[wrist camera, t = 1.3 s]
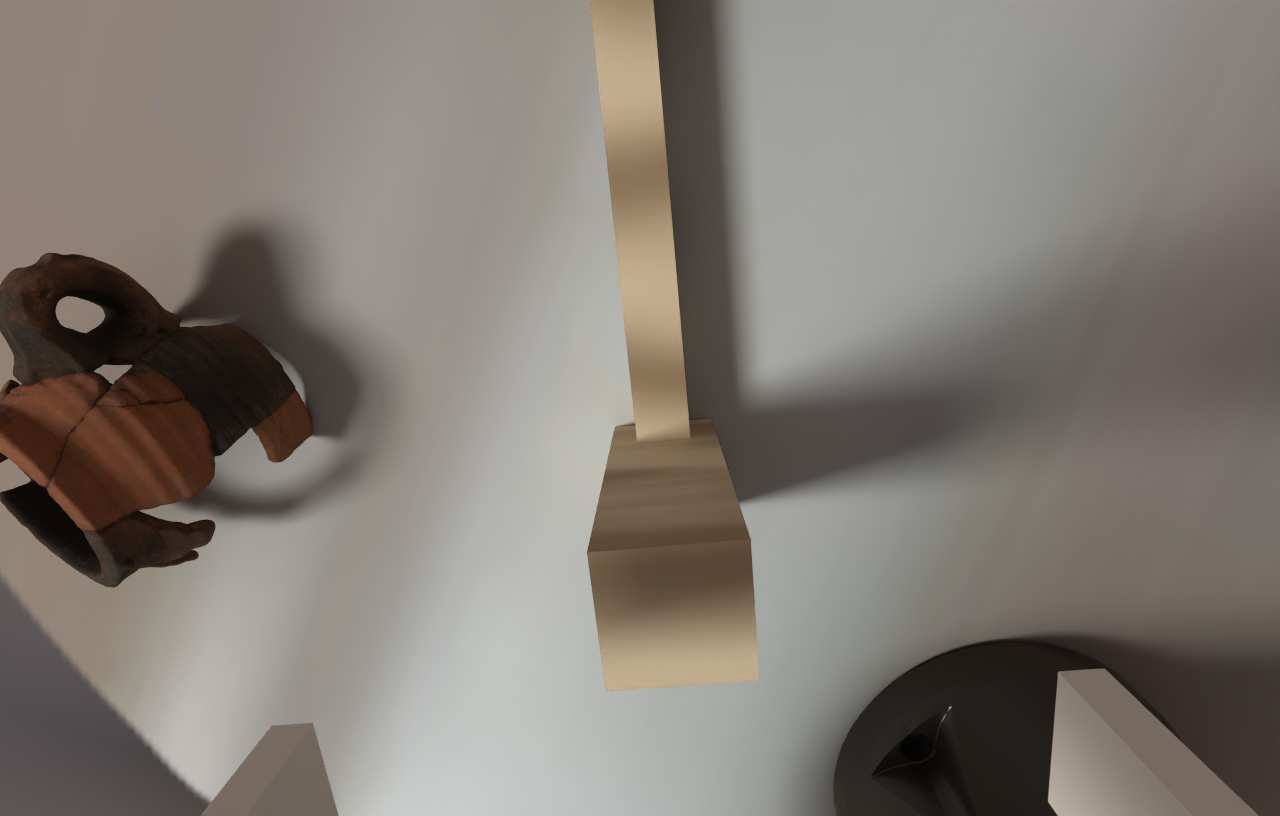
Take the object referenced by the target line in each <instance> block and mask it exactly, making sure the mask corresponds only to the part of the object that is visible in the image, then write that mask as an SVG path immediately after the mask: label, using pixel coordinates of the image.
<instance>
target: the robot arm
mask: <svg viewBox="0 0 1280 816" xmlns="http://www.w3.org/2000/svg"><path fill="white" fill-rule="evenodd" d="M834 803H835V808H836V813H837V816H1258V815H1257V814H1256V813H1255V812H1254V811H1253V810H1252V809H1251V808H1250V807H1249V806H1248V805H1247V804H1246V803H1245V802H1244V801H1243V800H1242V799H1241V798H1240V797H1239V796H1238V795H1236V794H1235V793H1234V792H1233V791H1232V790H1231V789H1230V788H1229V787H1228V786H1227V785H1226V784H1225V783H1224V782H1223V781H1222V780H1221V779H1220V778H1219V777H1218V776H1217V775H1216V774H1214V773H1213V772H1212V771H1211V770H1210V769H1209V768H1208V767H1207V766H1206V765H1205V764H1204V763H1203V762H1202V761H1201V760H1200V759H1199V758H1198V757H1197V756H1196V755H1195V754H1194V753H1192V752H1191V751H1190V750H1189V749H1188V748H1187V747H1186V746H1185V745H1184V744H1183V742H1182V740H1181V739H1180V737H1179V736H1178V735H1177V733H1176V732H1175V730H1174V729H1173V728H1172V727H1171V726H1170V724H1169V723H1168V722H1167V721H1166V720H1165V718H1164V717H1163V716H1162V715H1161V714H1160V713H1159V712H1158V711H1157V710H1156V709H1155V708H1154V707H1153V706H1152V705H1151V704H1149V703H1148V702H1147V701H1146V700H1145V699H1144V698H1143V697H1142V696H1141V695H1140V694H1139V693H1138V692H1137V691H1136V690H1134V689H1133V688H1132V687H1131V686H1130V685H1129V684H1128V683H1127V682H1126V681H1125V680H1124V679H1122V678H1121V677H1120V676H1119V675H1118V674H1116V673H1115V672H1114V671H1112V670H1111V669H1109V668H1108V667H1106V666H1104V665H1103V664H1101V663H1099V662H1097V661H1095V660H1093V659H1091V658H1089V657H1087V656H1084V655H1082V654H1079V653H1077V652H1074V651H1070V650H1067V649H1064V648H1059V647H1055V646H1050V645H1044V644H1035V643H1017V642H1013V643H996V644H987V645H981V646H975V647H971V648H966V649H962V650H959V651H956V652H952V653H949V654H946V655H944V656H941V657H938V658H936V659H933V660H931V661H929V662H927V663H925V664H923V665H921V666H919V667H917V668H915V669H913V670H912V671H910V672H908V673H907V674H905V675H903V676H902V677H900V678H899V679H898V680H896V681H895V682H893V683H892V684H891V685H889V686H888V687H887V688H886V689H884V690H883V691H882V692H881V693H880V694H879V695H878V696H877V697H876V698H875V699H874V700H873V701H872V702H871V703H870V704H869V705H868V706H867V707H866V708H865V710H864V711H863V712H862V713H861V715H860V716H859V717H858V719H857V720H856V722H855V723H854V724H853V726H852V728H851V729H850V731H849V733H848V735H847V737H846V739H845V741H844V743H843V745H842V748H841V751H840V753H839V757H838V760H837V764H836V769H835V775H834ZM201 816H338V812H337V809H336V805H335V801H334V798H333V794H332V791H331V787H330V783H329V780H328V776H327V773H326V769H325V765H324V762H323V758H322V755H321V751H320V747H319V744H318V740H317V737H316V733H315V729H314V726H313V723H306V724H291V725H277V726H271V727H270V729H269V730H268V731H267V733H266V734H265V735H264V736H263V738H262V739H261V740H260V741H259V743H258V744H257V745H256V746H255V748H254V749H253V750H252V752H251V753H250V754H249V755H248V757H247V758H246V759H245V760H244V762H243V763H242V764H241V765H240V767H239V768H238V769H237V771H236V772H235V773H234V774H233V776H232V777H231V778H230V779H229V781H228V782H227V783H226V784H225V786H224V787H223V788H222V790H221V791H220V792H219V793H218V795H217V796H216V797H215V798H214V800H213V801H212V802H211V803H210V805H209V806H208V807H207V809H206V810H205V811H204V812H203V814H202V815H201Z"/></svg>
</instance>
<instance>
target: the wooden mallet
mask: <svg viewBox="0 0 1280 816" xmlns="http://www.w3.org/2000/svg"><path fill="white" fill-rule="evenodd" d="M590 6H591V16H592V25H593V34H594V44H595V53H596V63H597V72H598V81H599V91H600V100H601V109H602V119H603V128H604V137H605V147H606V156H607V165H608V175H609V184H610V193H611V203H612V212H613V222H614V231H615V240H616V250H617V259H618V268H619V278H620V287H621V296H622V306H623V315H624V324H625V334H626V343H627V352H628V362H629V371H630V381H631V390H632V399H633V409H634V418H635V425H631V426H620V427H615V429H614V433H613V438H612V442H611V447H610V451H609V456H608V460H607V465H606V469H605V474H604V478H603V483H602V488H601V492H600V497H599V501H598V506H597V510H596V515H595V519H594V524H593V528H592V533H591V537H590V542H589V546H588V551H587V555H588V563H589V570H590V578H591V585H592V593H593V600H594V608H595V615H596V623H597V630H598V637H599V645H600V652H601V660H602V667H603V675H604V682H605V690H606V691H619V690H633V689H647V688H661V687H675V686H690V685H704V684H718V683H732V682H746V681H759V666H758V650H757V634H756V618H755V602H754V586H753V570H752V554H751V539H750V536H749V533H748V530H747V527H746V524H745V521H744V517H743V514H742V511H741V508H740V505H739V502H738V499H737V496H736V493H735V490H734V486H733V483H732V480H731V477H730V474H729V471H728V468H727V465H726V462H725V459H724V456H723V452H722V449H721V446H720V443H719V440H718V437H717V434H716V431H715V428H714V425H713V421H712V418H708V419H697V420H689V415H688V404H687V392H686V380H685V368H684V356H683V345H682V333H681V321H680V309H679V297H678V286H677V274H676V262H675V250H674V238H673V227H672V215H671V203H670V191H669V179H668V168H667V156H666V144H665V132H664V120H663V109H662V97H661V85H660V73H659V61H658V50H657V38H656V26H655V14H654V3H653V0H590Z"/></svg>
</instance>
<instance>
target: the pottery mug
mask: <svg viewBox="0 0 1280 816" xmlns="http://www.w3.org/2000/svg"><path fill="white" fill-rule="evenodd" d="M66 296H73V297H78V298H81V299H84V300H88V301H90V302H93V303H95V304H97V305H99V306H101V307H102V308H103V310H104V313H105V319H104V321H103V322H102V323H101V324H100V325H99V326H98V327H96V328H95V329H93V330H91V331H89V332H88V333H81V332H78V331H75V330H73V329H69V328H66V327H64V326H62V325H61V324H60V323H59V321H58V319H57V317H56V311H55V310H56V305H57V303H58V301H59V300H60V299H62V298H63V297H66ZM180 321H181V318H180V317H179V316H178V315H175V314H173V313H171V312H169V311H167V310H165V309H164V308H163V307H162V306H161V305H160V304H159V303H158V302H157V301H156V299H155V298H154V297H153V296H152V295H151V294H150V293H149V292H148V291H147V290H146V289H145V288H143V287H142V286H141V285H140V284H139V283H138V282H136V281H135V280H134V279H133V278H131V277H130V276H129V275H128V274H126V273H125V272H123V271H121V270H120V269H118V268H116V267H114V266H112V265H109V264H107V263H104V262H102V261H98V260H96V259H94V258H91V257H86V256H82V255H75V254H70V255H61V254H57V253H46V254H44V255H43V256H41V257H40V259H39V261H37V262H36V263H35V264H33V265H31V266H29V267H25V268H16V269H14V270H12V271H11V272H10V273H9V274H8V275H7V276H6V278H5V279H4V280H3V281H2V283H1V285H0V331H1V333H2V335H3V336H4V338H5V339H6V341H7V343H8V344H9V346H10V348H11V350H12V352H13V355H14V367H13V375H14V376H15V377H16V378H17V380H18V381H20V382H21V383H22V385H21V386H20V384H19V383H17V382H16V381H13V380H9V381H7V382H6V383H5V385H4V386H3V388H2V390H1V391H0V463H1V462H2V461H4V460H6V459H8V458H9V459H10V460H11V461H13V462H14V463H15V464H16V465H17V466H18V467H19V468H20V469H21V470H22V471H23V472H24V473H25V474H26V475H27V476H28V477H29V478H30V480H31V481H30V482H29V483H27V484H25V485H22V486H19V487H16V488H14V489H11V490H7V491H3V492H1V493H0V501H1V502H2V503H3V504H4V505H5V507H6V508H7V509H8V511H9V512H10V513H11V514H12V515H13V516H14V517H16V518H17V520H18V521H19V522H20V523H21V524H22V525H23V526H25V527H26V528H28V529H29V531H30V532H31V533H32V534H33V535H34V537H35V538H36V539H37V540H39V541H40V542H41V543H42V544H43V545H45V546H46V547H47V548H48V549H49V550H50V551H51V552H53V553H54V554H55V555H57V556H58V557H60V558H61V559H62V560H63V561H65V562H66V563H67V564H69V565H70V566H72V567H73V568H74V569H76V570H78V571H79V572H80V573H82V574H83V575H86V576H87V577H89V578H90V579H92V580H94V581H95V582H97V583H100V584H102V585H104V586H106V587H113V588H114V587H116V586H118V585H119V584H120V583H121V582H122V581H123V580H124V579H126V578H127V577H128V576H130V575H131V574H133V573H134V572H136V571H137V570H138V569H139V568H145V567H166V566H174V565H178V564H181V563H183V562H186V561H191V560H195V559H197V558H198V556H199V555H198V552H196V551H194V550H192V549H194V548H198V547H201V546H204V545H206V544H208V543H209V542H210V540H211V538H212V536H213V533H214V531H215V523H214V522H213V521H212V520H200V521H196V522H193V523H190V524H185V523H182V522H172V521H166V520H163V519H158V518H155V517H153V516H151V515H148V514H145V513H143V512H140V511H138V510H142V509H151V508H155V507H158V506H160V505H166V504H171V503H175V502H178V501H181V500H186V499H190V498H193V497H196V496H198V495H199V494H200V493H201V492H202V491H203V490H204V489H205V488H206V487H207V486H208V485H209V484H210V482H211V481H212V479H213V478H214V474H215V461H214V457H215V456H220V455H222V454H223V453H224V452H225V451H226V450H228V449H229V448H230V447H231V446H232V445H233V444H234V443H235V442H236V441H237V440H238V439H239V438H240V437H242V436H243V435H244V434H245V433H246V432H247V431H248V429H250V428H252V429H253V431H254V432H255V433H256V435H257V436H259V439H260V441H261V443H262V444H263V447H264V449H265V451H266V453H267V456H268V459H269V460H270V461H272V462H282V461H283V460H285V459H286V458H288V457H289V456H290V455H291V454H292V453H293V451H294V450H295V449H296V448H297V447H299V446H300V445H301V444H302V443H303V442H304V441H305V440H306V439H307V438H309V437H310V436H311V434H312V432H313V429H312V425H311V419H310V416H309V414H308V412H307V409H306V406H305V404H304V402H303V401H302V399H301V397H300V395H299V393H298V392H297V391H296V389H295V386H294V384H293V383H292V381H291V380H290V379H289V377H288V376H287V374H286V373H285V372H284V370H283V367H282V365H281V364H280V363H279V362H278V361H277V360H276V359H274V357H273V356H272V355H271V354H270V353H269V351H268V350H267V349H266V348H265V347H264V346H262V344H261V343H260V342H259V341H257V340H256V339H255V338H253V337H251V336H249V335H248V334H247V333H245V332H244V331H242V330H241V329H238V328H237V327H235V326H233V325H230V324H221V325H214V326H195V327H180ZM102 365H132V367H131V368H130V369H129V370H128V371H127V372H126V373H125V374H123V375H122V376H121V377H120V378H119V379H118V380H116V381H115V382H114V384H113V385H112V384H111V383H109V381H108V380H107V379H105V378H104V377H103V376H102V375H100V374H98V373H96V372H94V370H96V369H97V368H99V367H101V366H102Z"/></svg>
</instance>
